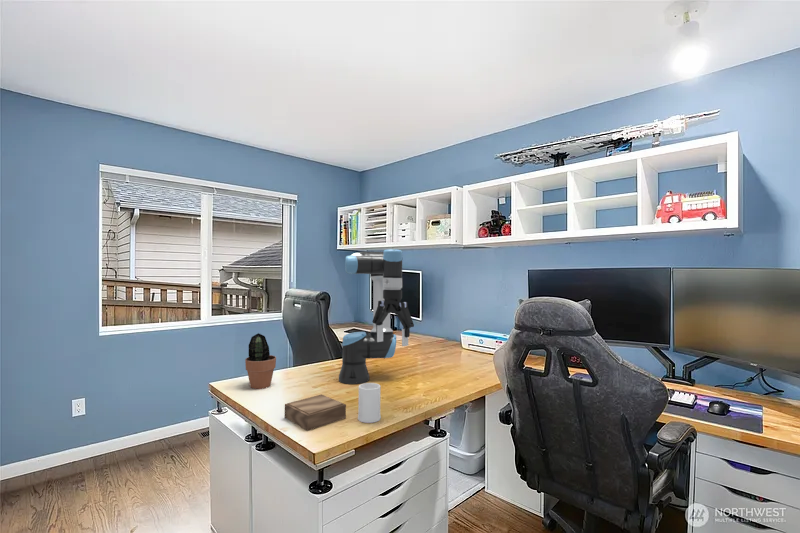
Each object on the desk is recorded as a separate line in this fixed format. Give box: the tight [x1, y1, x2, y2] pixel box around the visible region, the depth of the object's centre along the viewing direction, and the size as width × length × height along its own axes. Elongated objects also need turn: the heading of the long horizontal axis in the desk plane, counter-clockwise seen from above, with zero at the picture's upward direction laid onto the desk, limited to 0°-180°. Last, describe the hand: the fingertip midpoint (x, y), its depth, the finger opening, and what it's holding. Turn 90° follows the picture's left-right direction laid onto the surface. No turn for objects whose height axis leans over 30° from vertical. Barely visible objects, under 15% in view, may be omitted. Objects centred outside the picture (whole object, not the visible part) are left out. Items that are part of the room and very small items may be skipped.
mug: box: [357, 382, 382, 424], centre depth 143 cm, size 12×8×12 cm
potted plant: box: [244, 332, 277, 390], centre depth 180 cm, size 14×14×25 cm
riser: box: [284, 394, 347, 431], centre depth 142 cm, size 16×16×5 cm
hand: (392, 343), depth 149 cm, fingers open, 13 cm apart
